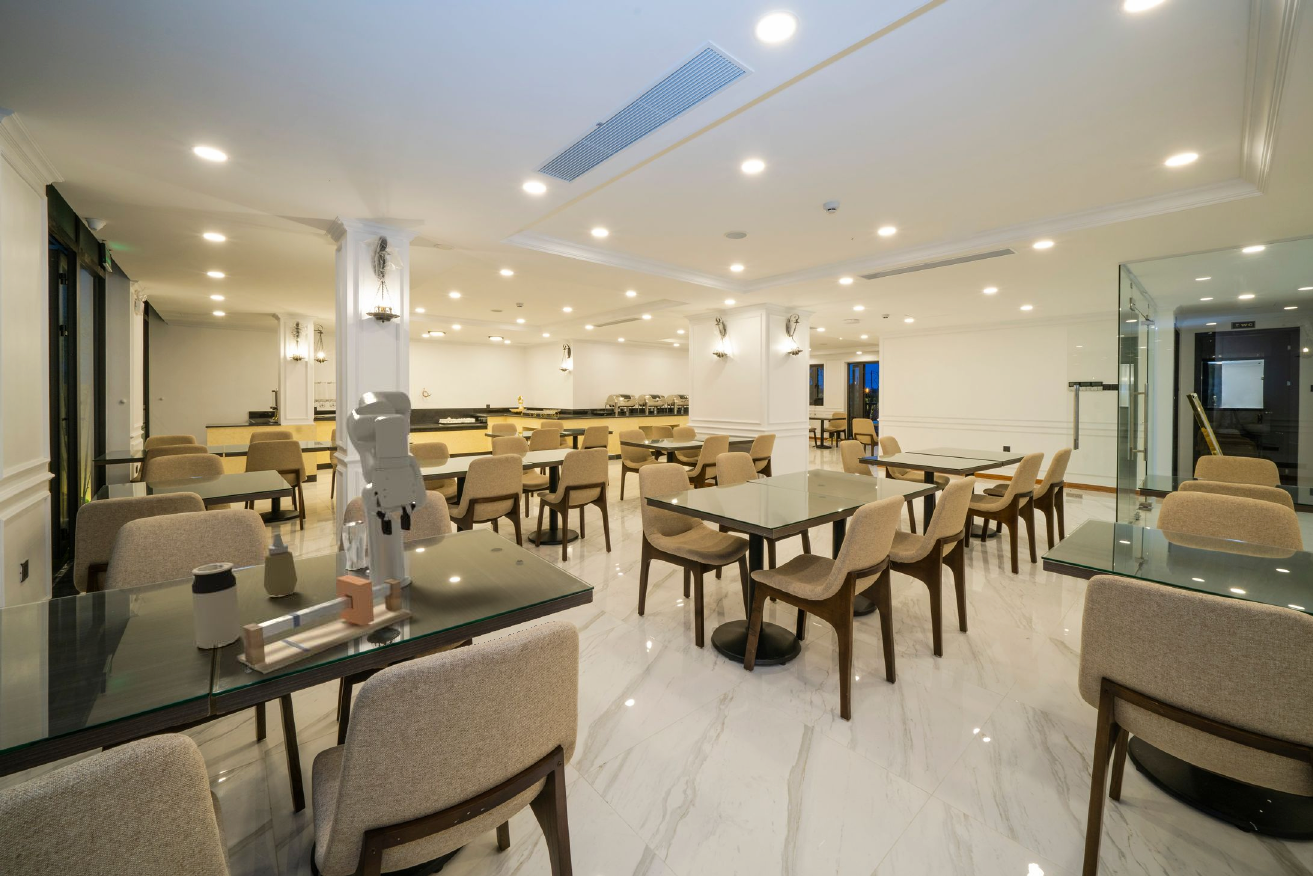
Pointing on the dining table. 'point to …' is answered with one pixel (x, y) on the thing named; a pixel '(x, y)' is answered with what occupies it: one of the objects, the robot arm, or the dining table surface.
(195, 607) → the travel mug
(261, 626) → the pipe stand
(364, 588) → the collar
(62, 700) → the dining table surface
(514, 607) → the dining table surface
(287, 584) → the squeeze bottle
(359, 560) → the beer glass
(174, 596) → the dining table surface
